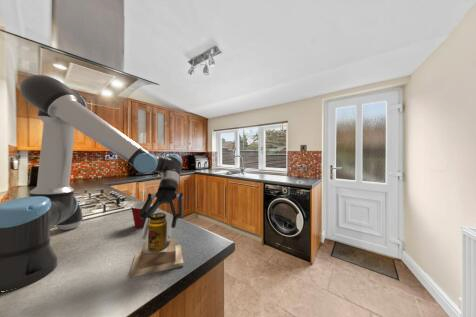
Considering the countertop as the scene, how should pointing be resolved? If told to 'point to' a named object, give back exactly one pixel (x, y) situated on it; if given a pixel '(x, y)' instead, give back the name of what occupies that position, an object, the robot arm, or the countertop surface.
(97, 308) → the countertop surface
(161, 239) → the condiment
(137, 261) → the base board
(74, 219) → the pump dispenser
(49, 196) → the robot arm
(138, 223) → the plastic cup
